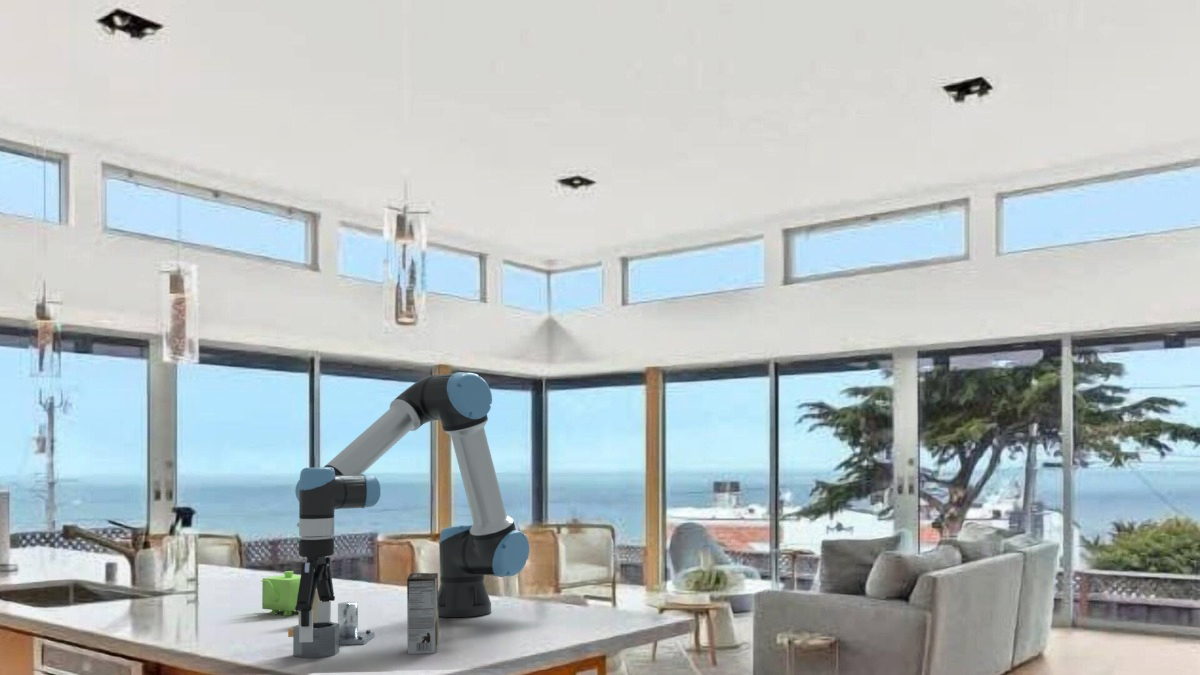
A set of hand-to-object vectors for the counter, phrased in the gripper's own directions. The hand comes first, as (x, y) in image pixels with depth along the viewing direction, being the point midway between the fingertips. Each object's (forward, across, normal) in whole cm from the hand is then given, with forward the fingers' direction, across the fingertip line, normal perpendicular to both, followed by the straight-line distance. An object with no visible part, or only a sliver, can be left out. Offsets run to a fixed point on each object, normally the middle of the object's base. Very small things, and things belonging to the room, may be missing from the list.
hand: (315, 636), depth 236 cm
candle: (+4, -39, -13) cm, 41 cm away
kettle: (+4, -59, -25) cm, 64 cm away
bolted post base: (+4, -15, +3) cm, 16 cm away
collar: (+4, 0, 0) cm, 4 cm away
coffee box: (+4, -2, +23) cm, 24 cm away
